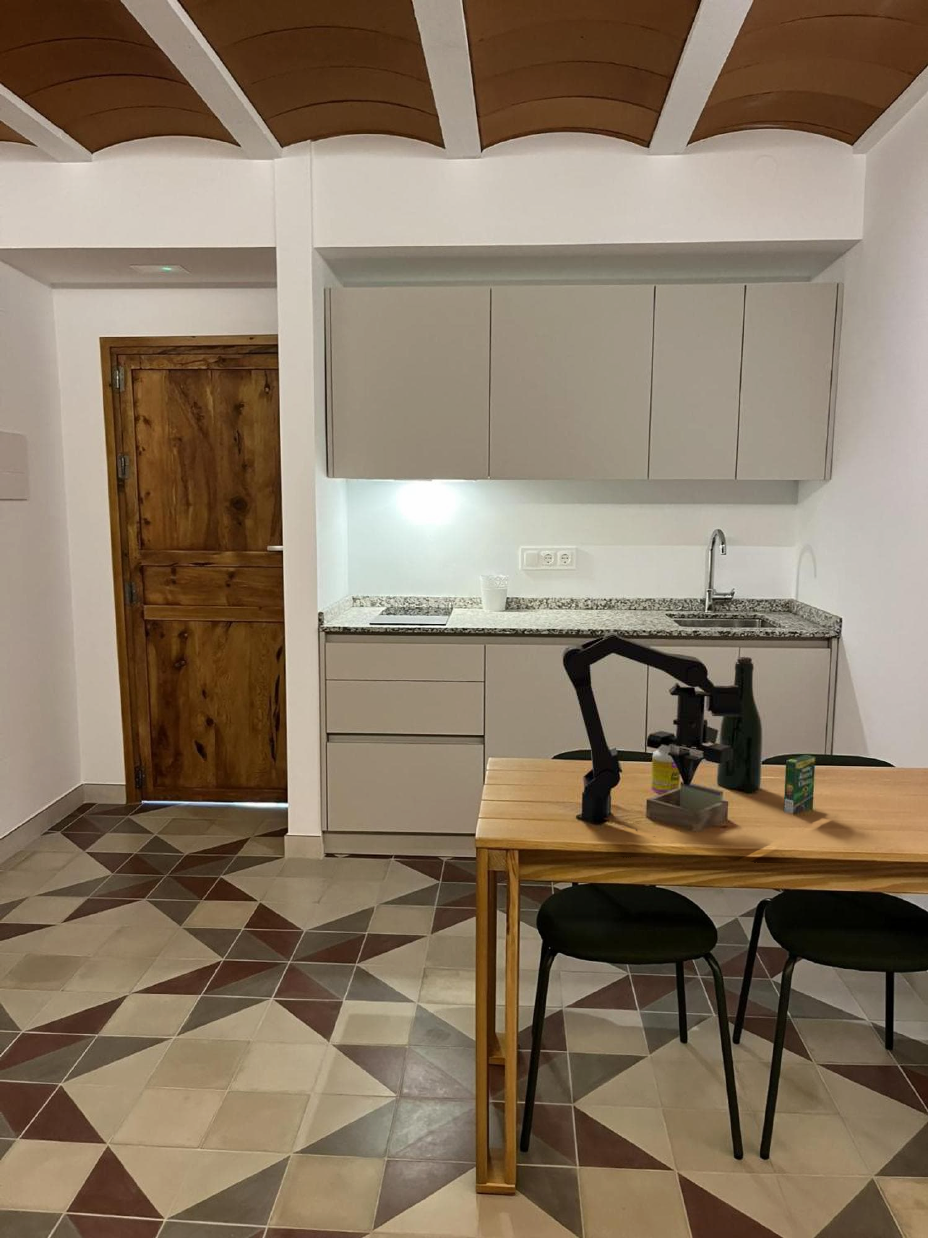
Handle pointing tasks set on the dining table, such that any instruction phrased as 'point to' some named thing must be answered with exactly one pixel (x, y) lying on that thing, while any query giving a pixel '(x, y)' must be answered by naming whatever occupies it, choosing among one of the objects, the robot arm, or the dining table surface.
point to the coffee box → (799, 784)
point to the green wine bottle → (742, 737)
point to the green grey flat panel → (698, 796)
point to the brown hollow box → (684, 812)
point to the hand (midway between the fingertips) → (687, 784)
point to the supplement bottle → (664, 771)
